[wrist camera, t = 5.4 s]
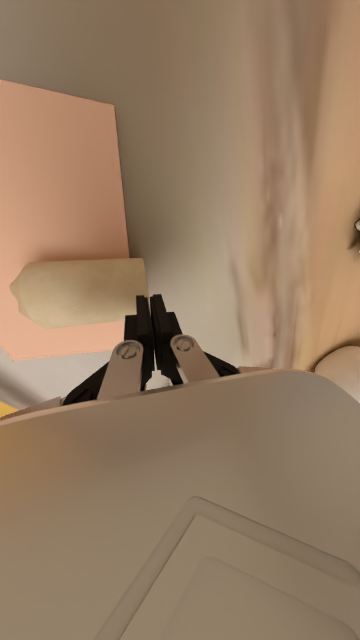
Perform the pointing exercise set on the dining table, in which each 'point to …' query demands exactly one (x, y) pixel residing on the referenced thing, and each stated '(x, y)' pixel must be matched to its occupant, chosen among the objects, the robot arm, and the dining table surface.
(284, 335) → the dining table surface
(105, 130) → the mat
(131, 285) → the candle
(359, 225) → the passion flower
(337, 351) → the pitcher
